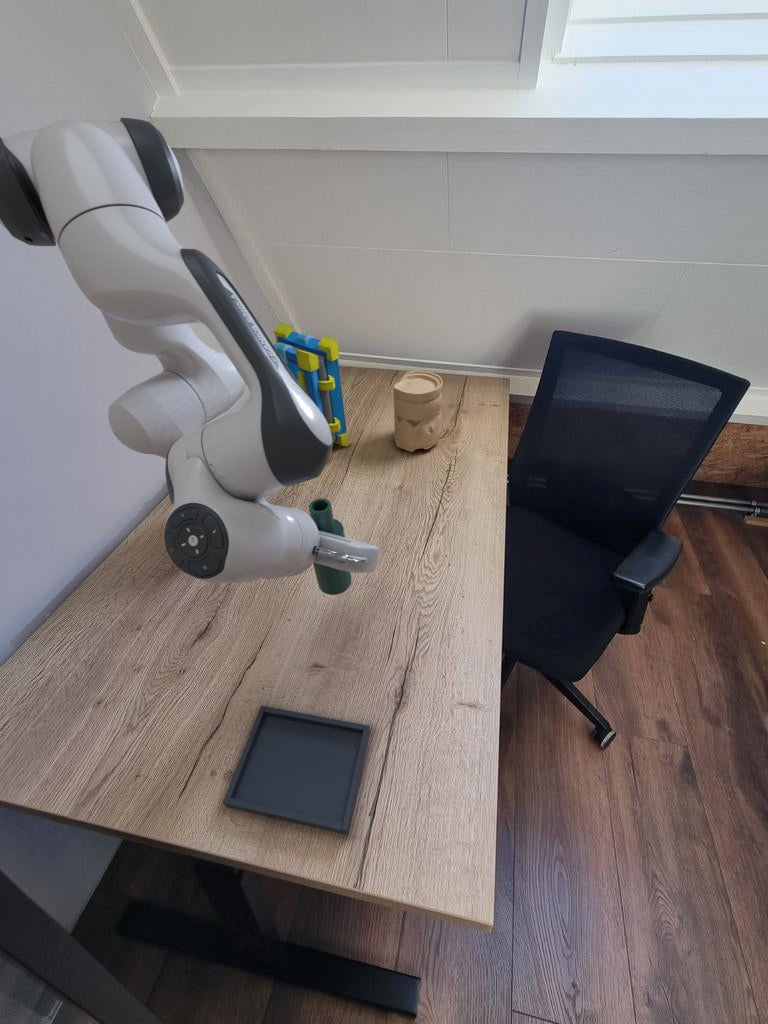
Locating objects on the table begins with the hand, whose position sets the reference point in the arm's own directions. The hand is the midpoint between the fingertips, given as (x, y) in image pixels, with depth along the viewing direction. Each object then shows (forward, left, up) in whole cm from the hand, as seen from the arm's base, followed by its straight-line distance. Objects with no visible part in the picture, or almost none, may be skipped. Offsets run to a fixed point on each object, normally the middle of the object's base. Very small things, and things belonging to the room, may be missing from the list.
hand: (329, 542), depth 70 cm
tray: (+14, -21, -22) cm, 33 cm away
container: (-30, +53, -22) cm, 65 cm away
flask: (0, 0, -9) cm, 9 cm away
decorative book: (-52, +33, -22) cm, 65 cm away
